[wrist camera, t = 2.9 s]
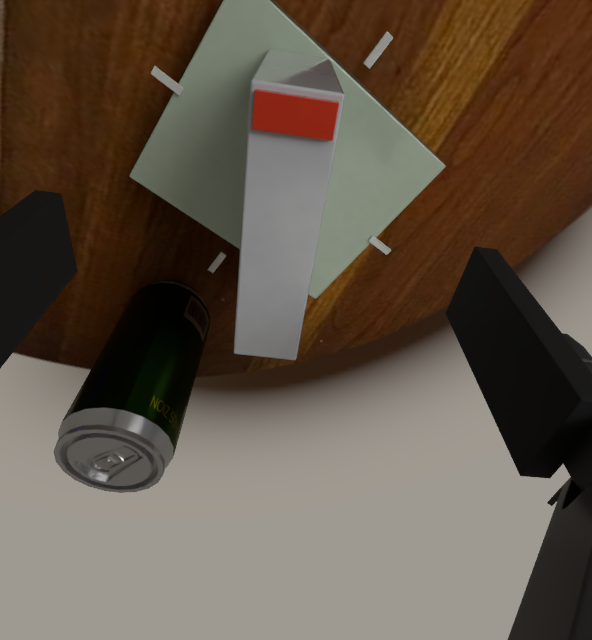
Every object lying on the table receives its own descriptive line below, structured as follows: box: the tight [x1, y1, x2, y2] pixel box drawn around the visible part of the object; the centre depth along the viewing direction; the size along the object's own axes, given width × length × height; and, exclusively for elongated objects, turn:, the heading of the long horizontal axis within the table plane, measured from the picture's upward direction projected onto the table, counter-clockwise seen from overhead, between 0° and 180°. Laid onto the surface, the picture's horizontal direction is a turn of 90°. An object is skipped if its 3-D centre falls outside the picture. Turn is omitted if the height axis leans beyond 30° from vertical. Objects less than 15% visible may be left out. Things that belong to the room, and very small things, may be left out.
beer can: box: [54, 281, 210, 493], centre depth 24 cm, size 5×5×12 cm
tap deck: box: [129, 0, 445, 299], centre depth 22 cm, size 14×14×3 cm
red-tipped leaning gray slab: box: [234, 49, 345, 360], centre depth 18 cm, size 10×3×8 cm, turn 172°
